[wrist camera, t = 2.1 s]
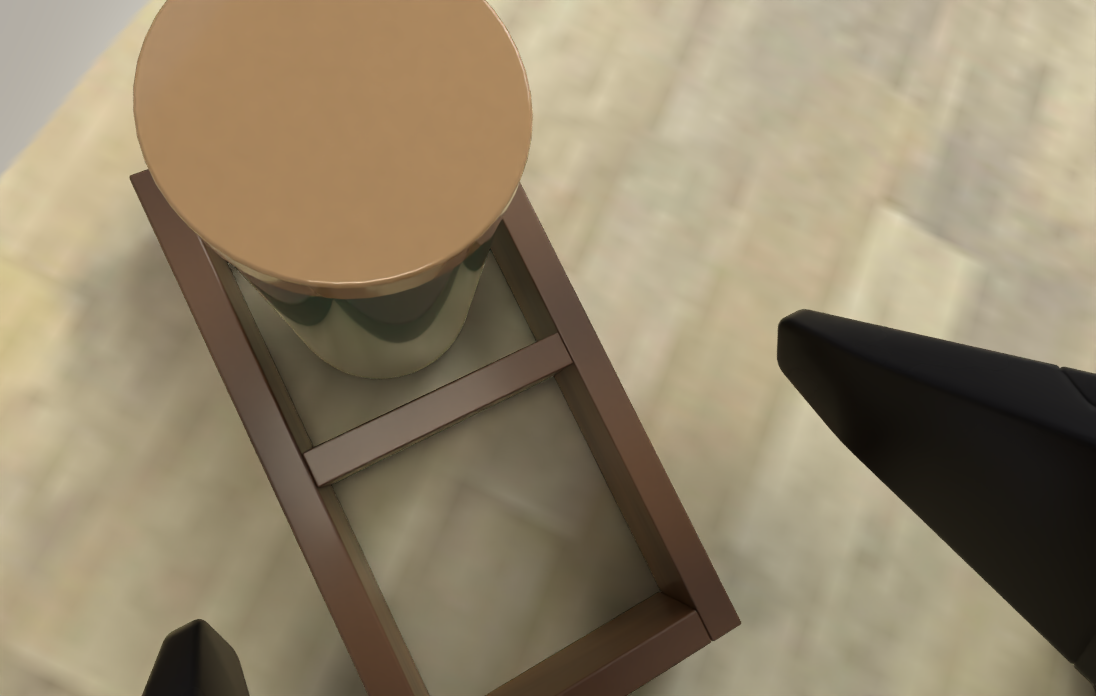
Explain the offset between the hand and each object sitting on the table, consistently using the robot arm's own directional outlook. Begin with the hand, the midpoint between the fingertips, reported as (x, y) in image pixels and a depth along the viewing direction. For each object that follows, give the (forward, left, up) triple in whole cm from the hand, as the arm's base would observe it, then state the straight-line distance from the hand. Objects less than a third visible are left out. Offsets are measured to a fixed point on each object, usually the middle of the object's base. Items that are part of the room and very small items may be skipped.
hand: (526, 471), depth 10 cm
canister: (+6, +2, -12) cm, 14 cm away
